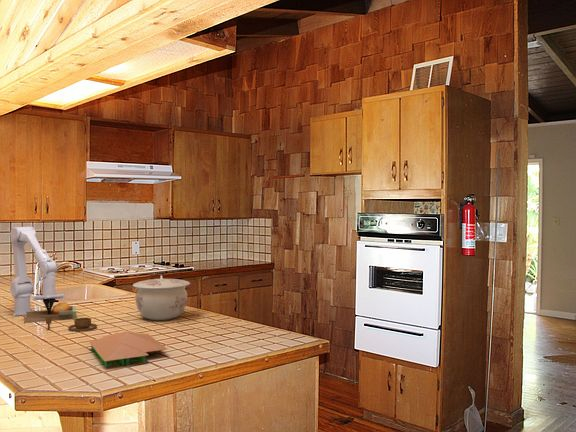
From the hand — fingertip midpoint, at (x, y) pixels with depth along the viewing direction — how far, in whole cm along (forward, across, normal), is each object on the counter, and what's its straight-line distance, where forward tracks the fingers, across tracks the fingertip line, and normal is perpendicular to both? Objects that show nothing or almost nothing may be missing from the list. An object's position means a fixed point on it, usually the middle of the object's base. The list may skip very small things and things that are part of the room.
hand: (49, 314), depth 267 cm
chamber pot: (+2, +51, -20) cm, 55 cm away
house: (+2, +29, -80) cm, 85 cm away
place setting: (+3, +12, -28) cm, 30 cm away
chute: (+2, 0, 0) cm, 2 cm away
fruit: (+2, +6, 0) cm, 6 cm away
